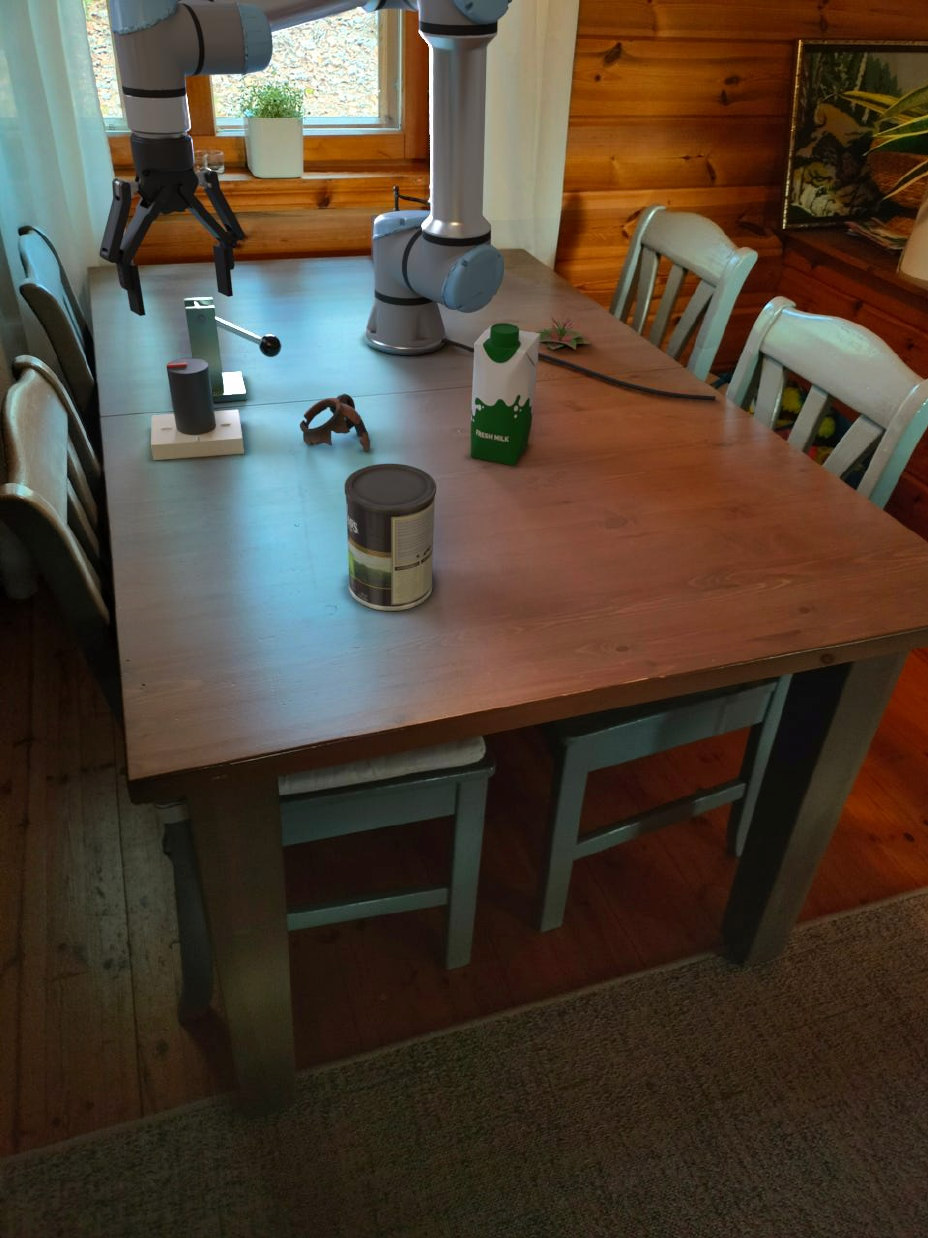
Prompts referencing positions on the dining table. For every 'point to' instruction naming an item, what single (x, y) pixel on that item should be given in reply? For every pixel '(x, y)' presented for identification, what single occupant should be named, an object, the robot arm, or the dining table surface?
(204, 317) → the grey metal lever stand
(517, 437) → the milk carton
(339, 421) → the broken clay pot
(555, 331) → the lily flower
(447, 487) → the dining table surface
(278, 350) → the tap lever
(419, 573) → the coffee can
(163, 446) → the panel
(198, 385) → the tap knob
